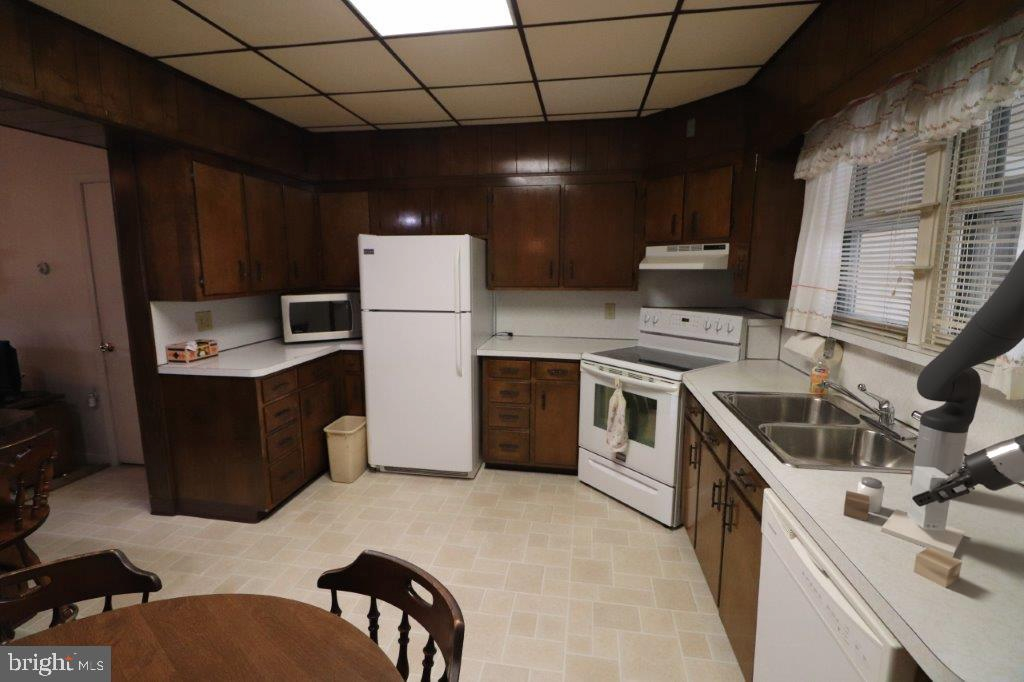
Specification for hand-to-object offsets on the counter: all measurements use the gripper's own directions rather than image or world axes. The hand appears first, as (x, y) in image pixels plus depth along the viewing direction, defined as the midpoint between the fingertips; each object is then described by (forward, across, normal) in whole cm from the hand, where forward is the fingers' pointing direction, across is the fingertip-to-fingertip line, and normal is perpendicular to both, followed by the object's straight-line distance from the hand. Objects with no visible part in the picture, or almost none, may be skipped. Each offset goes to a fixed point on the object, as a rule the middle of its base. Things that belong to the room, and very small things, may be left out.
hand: (920, 496), depth 105 cm
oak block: (+2, +16, +11) cm, 19 cm away
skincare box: (+3, 0, +5) cm, 6 cm away
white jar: (+13, -4, -1) cm, 13 cm away
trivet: (+5, 0, +7) cm, 8 cm away
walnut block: (+14, +2, -2) cm, 14 cm away
